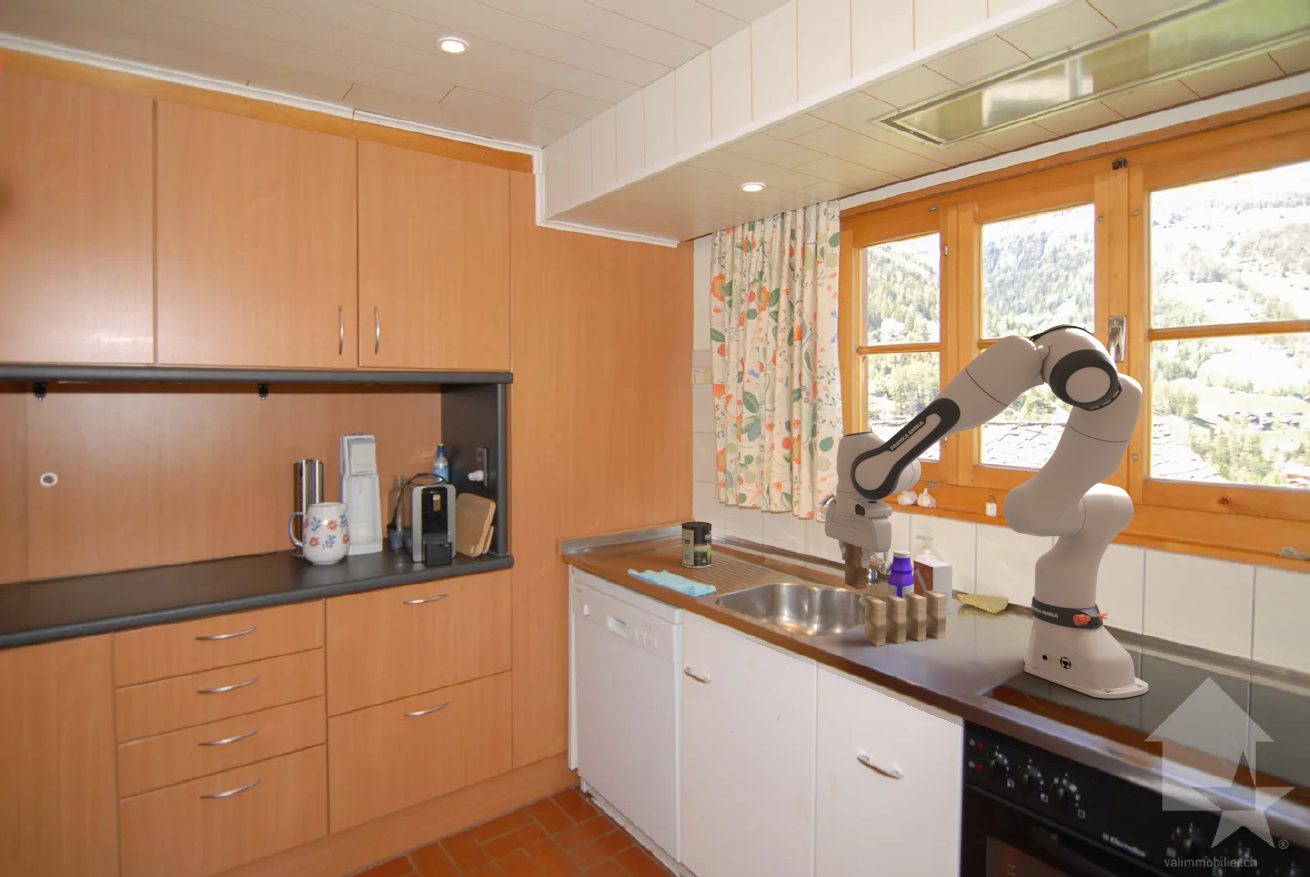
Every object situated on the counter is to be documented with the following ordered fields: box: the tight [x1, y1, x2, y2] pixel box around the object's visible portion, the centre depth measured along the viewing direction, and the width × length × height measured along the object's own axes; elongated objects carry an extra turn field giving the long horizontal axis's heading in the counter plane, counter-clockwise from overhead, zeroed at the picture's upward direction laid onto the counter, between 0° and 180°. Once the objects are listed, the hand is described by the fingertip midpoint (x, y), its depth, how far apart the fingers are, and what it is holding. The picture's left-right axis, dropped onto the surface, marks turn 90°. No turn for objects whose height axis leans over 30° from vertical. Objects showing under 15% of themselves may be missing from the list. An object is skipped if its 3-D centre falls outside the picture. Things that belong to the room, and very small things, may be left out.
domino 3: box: [884, 594, 907, 644], centre depth 163 cm, size 5×2×10 cm, turn 17°
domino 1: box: [844, 542, 868, 590], centre depth 157 cm, size 5×2×10 cm, turn 20°
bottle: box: [887, 549, 914, 600], centre depth 178 cm, size 7×6×17 cm
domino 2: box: [864, 596, 887, 647], centre depth 161 cm, size 5×2×10 cm, turn 17°
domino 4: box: [905, 593, 927, 642], centre depth 165 cm, size 5×2×10 cm, turn 17°
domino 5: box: [924, 591, 947, 639], centre depth 166 cm, size 5×2×10 cm, turn 17°
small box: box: [912, 558, 953, 615], centre depth 185 cm, size 8×6×13 cm
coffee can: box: [681, 521, 713, 569], centre depth 236 cm, size 10×10×14 cm
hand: (855, 563), depth 157 cm, fingers closed on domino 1, 5 cm apart
